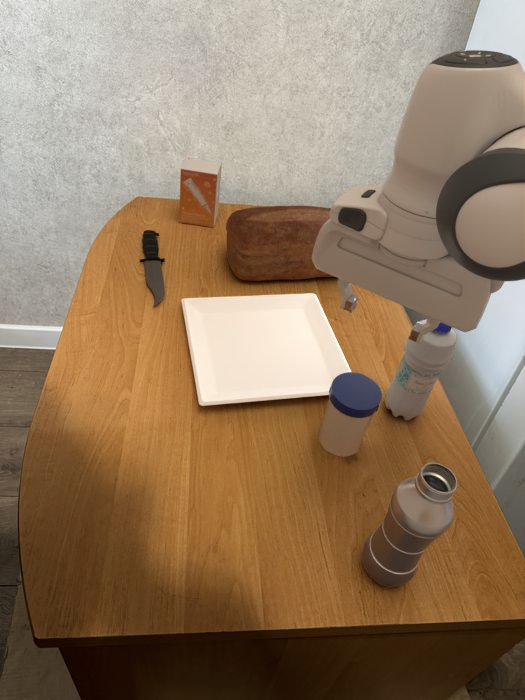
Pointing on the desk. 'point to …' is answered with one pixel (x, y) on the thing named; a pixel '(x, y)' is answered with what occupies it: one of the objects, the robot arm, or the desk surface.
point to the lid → (355, 395)
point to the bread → (274, 242)
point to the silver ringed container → (410, 525)
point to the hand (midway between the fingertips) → (380, 323)
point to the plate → (261, 348)
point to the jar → (342, 431)
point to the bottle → (420, 371)
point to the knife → (153, 265)
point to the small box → (199, 191)
